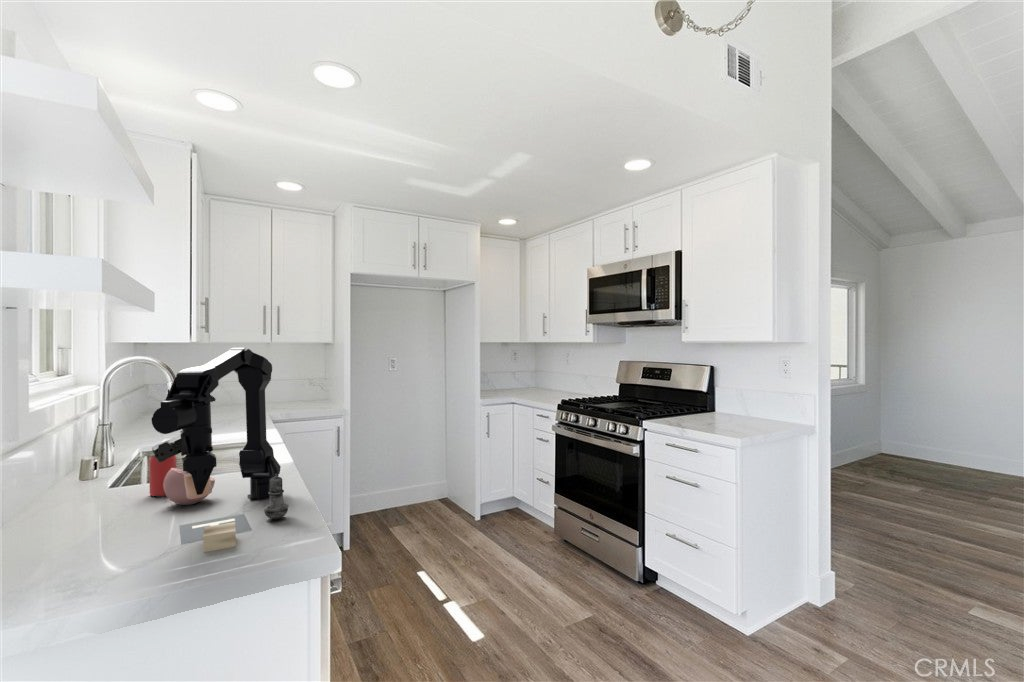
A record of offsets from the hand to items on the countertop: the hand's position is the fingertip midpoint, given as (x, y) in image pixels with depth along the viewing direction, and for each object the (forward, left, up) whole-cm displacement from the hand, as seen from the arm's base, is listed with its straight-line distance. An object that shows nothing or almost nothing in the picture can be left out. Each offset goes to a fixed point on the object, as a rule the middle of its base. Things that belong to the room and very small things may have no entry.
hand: (199, 491), depth 118 cm
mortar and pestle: (-28, -1, -11) cm, 30 cm away
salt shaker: (+1, +16, -11) cm, 19 cm away
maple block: (+10, +3, -11) cm, 15 cm away
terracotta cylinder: (0, 0, -1) cm, 1 cm away
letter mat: (-2, +3, -10) cm, 11 cm away
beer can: (-43, -7, -11) cm, 45 cm away
